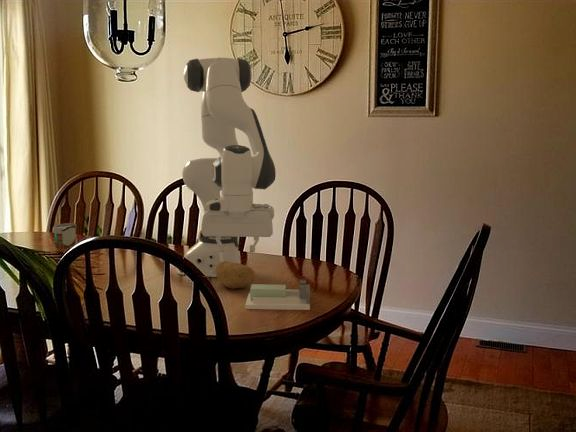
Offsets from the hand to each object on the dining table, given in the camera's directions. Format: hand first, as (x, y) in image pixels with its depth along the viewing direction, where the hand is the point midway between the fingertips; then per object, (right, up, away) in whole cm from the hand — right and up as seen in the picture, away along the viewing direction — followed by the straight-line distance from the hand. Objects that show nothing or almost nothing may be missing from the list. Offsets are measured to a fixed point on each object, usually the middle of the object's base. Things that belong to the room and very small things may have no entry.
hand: (237, 251), depth 174 cm
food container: (-74, -4, +66) cm, 100 cm away
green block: (+9, -14, +2) cm, 16 cm away
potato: (-2, -13, +17) cm, 21 cm away
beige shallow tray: (+12, -15, +2) cm, 19 cm away
